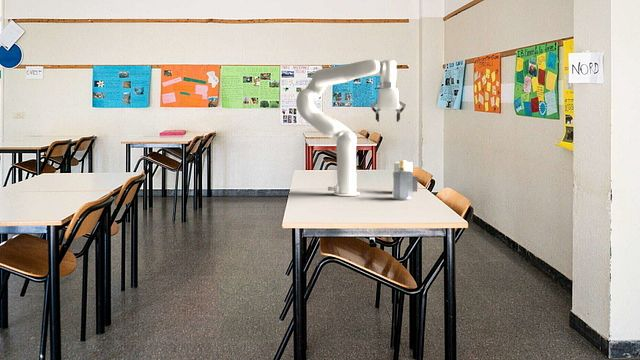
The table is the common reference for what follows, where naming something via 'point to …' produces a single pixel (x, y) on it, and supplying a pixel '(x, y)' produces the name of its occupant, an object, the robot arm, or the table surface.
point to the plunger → (402, 165)
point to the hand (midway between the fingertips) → (387, 121)
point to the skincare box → (396, 166)
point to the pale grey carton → (404, 185)
